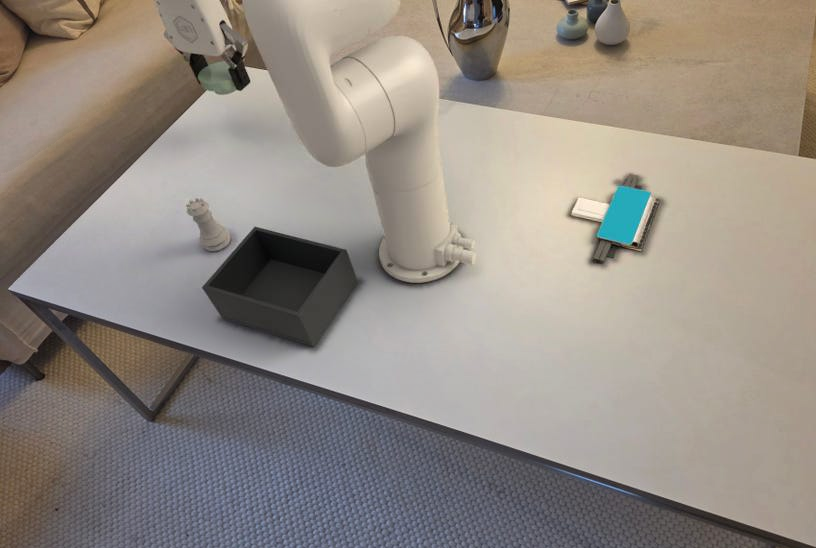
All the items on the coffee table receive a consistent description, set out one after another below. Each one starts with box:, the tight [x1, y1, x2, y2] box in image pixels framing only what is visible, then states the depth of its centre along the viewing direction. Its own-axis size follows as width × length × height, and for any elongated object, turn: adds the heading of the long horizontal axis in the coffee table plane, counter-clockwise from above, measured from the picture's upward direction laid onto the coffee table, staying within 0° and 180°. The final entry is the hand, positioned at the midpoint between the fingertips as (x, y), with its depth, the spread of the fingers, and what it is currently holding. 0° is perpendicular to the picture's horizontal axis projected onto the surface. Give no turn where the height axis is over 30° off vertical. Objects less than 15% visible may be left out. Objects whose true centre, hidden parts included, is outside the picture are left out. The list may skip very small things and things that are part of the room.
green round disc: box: [198, 60, 238, 96], centre depth 101 cm, size 7×7×3 cm
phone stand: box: [571, 173, 661, 264], centre depth 89 cm, size 20×12×2 cm, turn 157°
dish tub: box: [201, 226, 359, 348], centre depth 81 cm, size 15×12×7 cm
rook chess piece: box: [185, 197, 232, 252], centre depth 89 cm, size 4×4×8 cm
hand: (224, 83), depth 102 cm, fingers closed on green round disc, 7 cm apart
